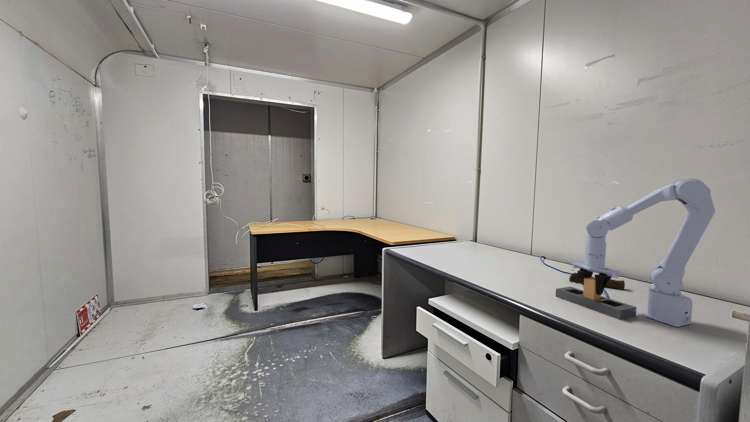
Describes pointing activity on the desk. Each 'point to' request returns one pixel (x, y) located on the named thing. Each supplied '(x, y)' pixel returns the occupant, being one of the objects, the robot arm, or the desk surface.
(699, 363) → the desk surface
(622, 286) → the hand tool
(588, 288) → the peg
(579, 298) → the grey slotted block
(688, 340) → the desk surface
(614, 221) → the robot arm
